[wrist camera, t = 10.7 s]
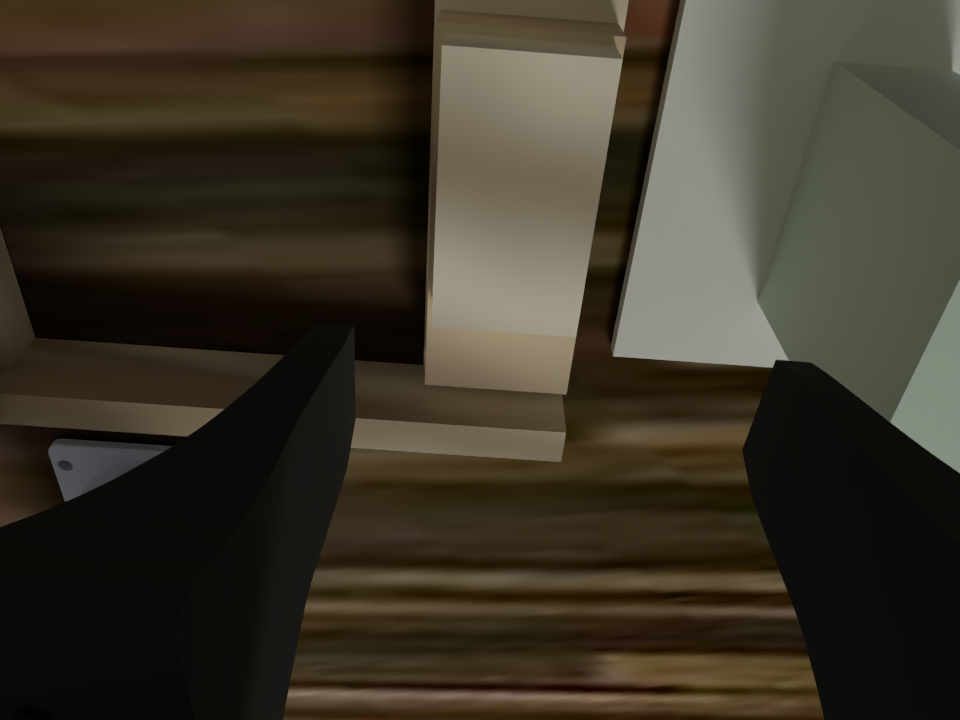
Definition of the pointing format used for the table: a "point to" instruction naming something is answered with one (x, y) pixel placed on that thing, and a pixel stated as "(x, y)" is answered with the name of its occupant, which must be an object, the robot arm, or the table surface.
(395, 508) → the table surface
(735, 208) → the grey pad
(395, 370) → the rack
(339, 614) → the table surface
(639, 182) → the table surface
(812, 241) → the green panel
